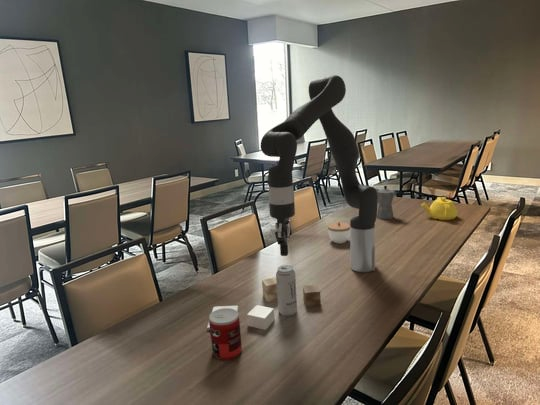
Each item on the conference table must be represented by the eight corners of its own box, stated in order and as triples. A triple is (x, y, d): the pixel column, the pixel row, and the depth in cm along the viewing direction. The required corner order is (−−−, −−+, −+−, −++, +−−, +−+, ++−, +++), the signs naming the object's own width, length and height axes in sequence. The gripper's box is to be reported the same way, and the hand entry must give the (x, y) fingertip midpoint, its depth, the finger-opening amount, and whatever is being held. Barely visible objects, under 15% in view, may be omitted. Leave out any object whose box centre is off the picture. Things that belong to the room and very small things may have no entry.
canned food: (213, 344, 107) (209, 309, 104) (241, 341, 107) (238, 306, 105) (211, 362, 99) (207, 324, 97) (242, 358, 100) (238, 321, 97)
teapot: (416, 212, 219) (417, 194, 216) (450, 212, 216) (451, 193, 213) (425, 223, 199) (426, 202, 197) (462, 222, 197) (464, 201, 194)
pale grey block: (274, 320, 118) (273, 308, 117) (265, 330, 112) (264, 318, 112) (257, 316, 120) (256, 305, 119) (248, 326, 115) (247, 314, 114)
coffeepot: (400, 216, 212) (400, 185, 208) (391, 221, 206) (392, 188, 202) (375, 212, 223) (375, 182, 219) (366, 216, 217) (366, 185, 213)
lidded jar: (325, 244, 178) (325, 225, 176) (330, 236, 188) (330, 218, 185) (348, 246, 174) (348, 226, 172) (352, 238, 184) (352, 219, 181)
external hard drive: (207, 332, 114) (213, 310, 126) (234, 331, 114) (238, 309, 126) (206, 327, 114) (213, 306, 126) (234, 326, 114) (237, 305, 126)
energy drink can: (291, 318, 117) (289, 273, 114) (274, 314, 121) (271, 270, 117) (300, 309, 122) (298, 266, 119) (284, 305, 125) (281, 263, 122)
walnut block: (318, 298, 129) (317, 284, 128) (320, 305, 124) (320, 291, 123) (303, 299, 129) (302, 285, 128) (305, 306, 124) (304, 292, 123)
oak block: (276, 292, 135) (275, 277, 133) (281, 299, 130) (280, 283, 128) (263, 295, 133) (261, 279, 132) (267, 302, 128) (266, 286, 127)
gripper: (290, 206, 106) (293, 264, 110) (297, 195, 118) (299, 247, 122) (264, 206, 107) (268, 263, 111) (273, 195, 120) (276, 247, 124)
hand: (284, 255), depth 117 cm, fingers closed
